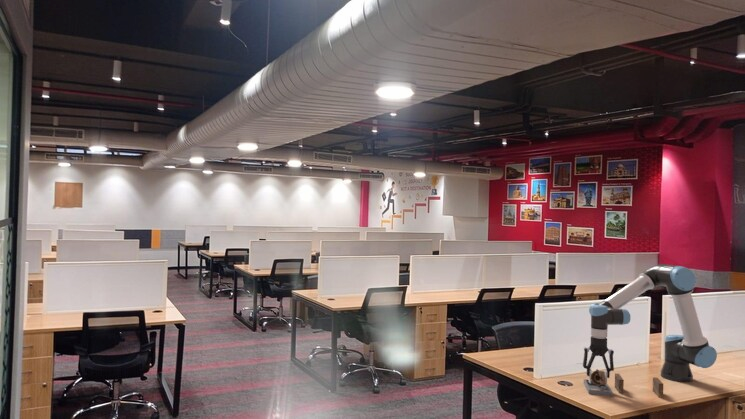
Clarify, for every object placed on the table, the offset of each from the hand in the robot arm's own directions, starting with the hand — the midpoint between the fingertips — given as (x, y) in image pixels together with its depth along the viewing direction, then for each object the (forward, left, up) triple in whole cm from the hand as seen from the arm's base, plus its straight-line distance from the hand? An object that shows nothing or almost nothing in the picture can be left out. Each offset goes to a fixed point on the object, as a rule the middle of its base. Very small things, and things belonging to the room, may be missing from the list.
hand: (597, 383), depth 254 cm
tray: (0, 0, -3) cm, 3 cm away
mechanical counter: (0, 0, -3) cm, 3 cm away
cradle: (-19, -3, -3) cm, 19 cm away
